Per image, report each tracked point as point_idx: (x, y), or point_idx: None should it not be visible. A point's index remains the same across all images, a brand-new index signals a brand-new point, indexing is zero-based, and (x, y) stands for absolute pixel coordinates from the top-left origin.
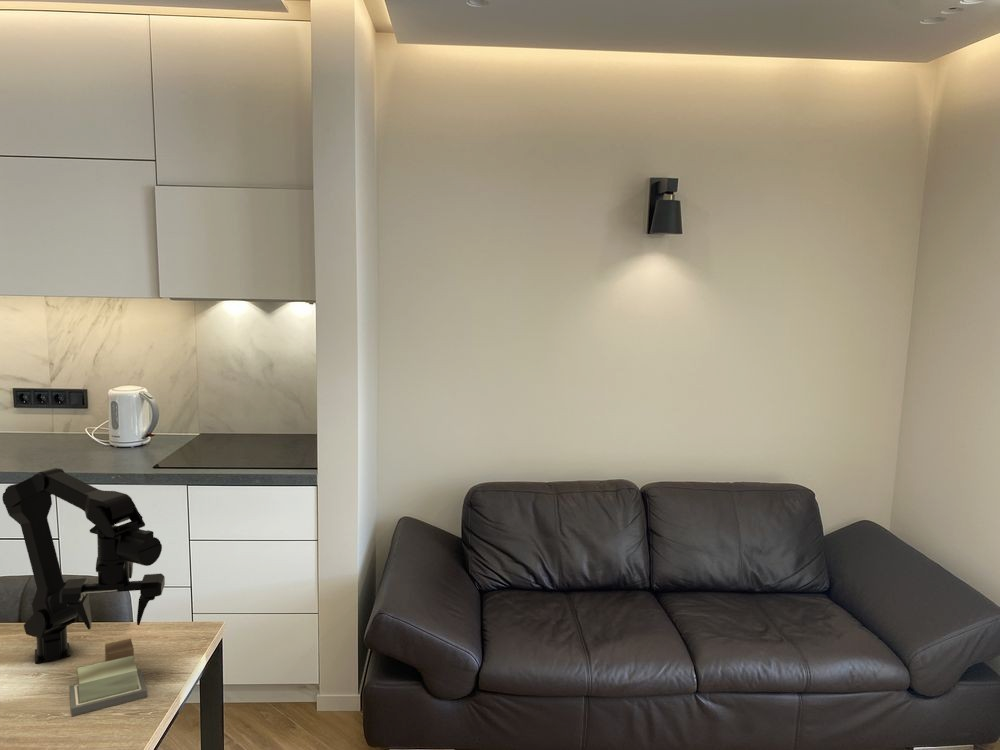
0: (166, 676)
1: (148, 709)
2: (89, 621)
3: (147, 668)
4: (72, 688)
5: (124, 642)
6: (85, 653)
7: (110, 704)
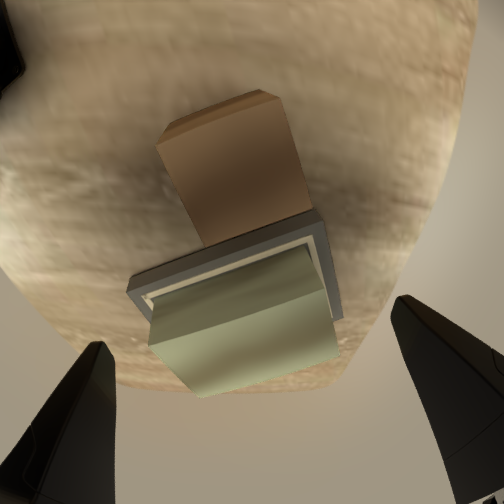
0: (381, 216)
1: (340, 333)
2: (111, 416)
3: (327, 159)
4: (143, 304)
5: (255, 138)
6: (65, 34)
7: None
